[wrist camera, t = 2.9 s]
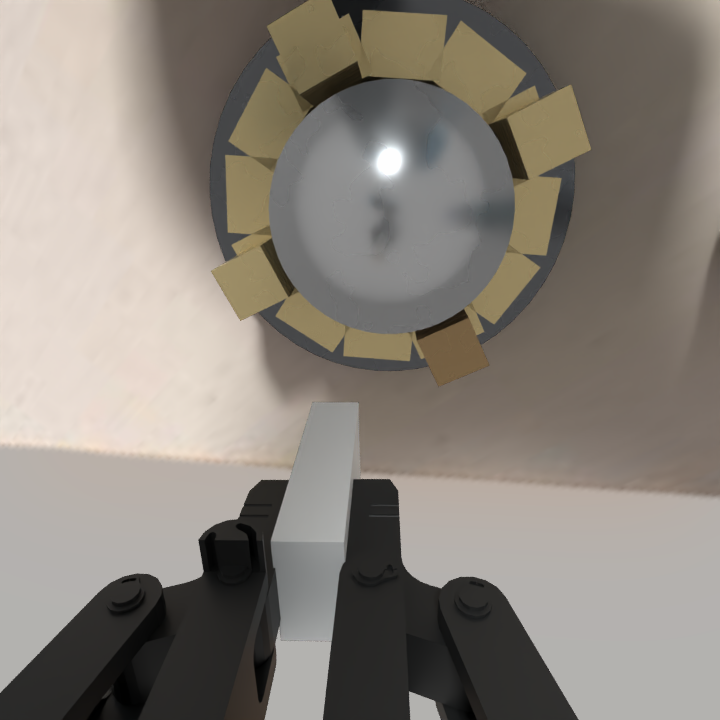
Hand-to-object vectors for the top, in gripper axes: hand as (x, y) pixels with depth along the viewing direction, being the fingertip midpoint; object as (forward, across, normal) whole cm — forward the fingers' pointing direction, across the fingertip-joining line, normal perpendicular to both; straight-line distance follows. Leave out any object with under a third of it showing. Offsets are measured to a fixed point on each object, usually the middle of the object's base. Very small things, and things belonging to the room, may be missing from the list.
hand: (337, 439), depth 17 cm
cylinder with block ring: (+11, +2, +7) cm, 13 cm away
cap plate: (+14, +2, +7) cm, 15 cm away
